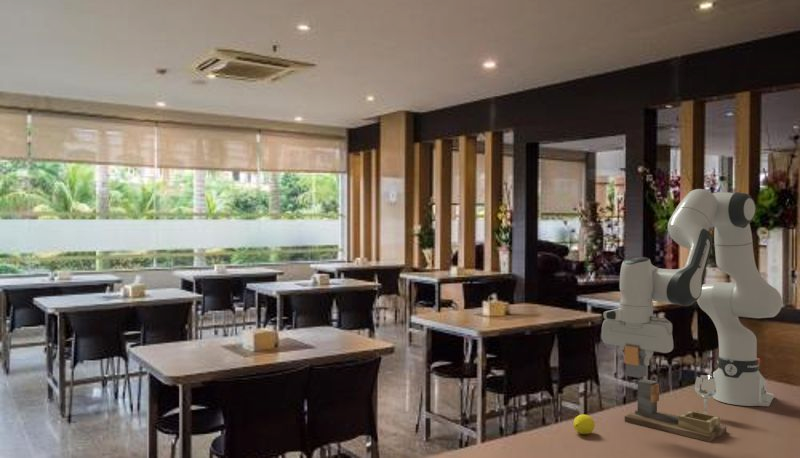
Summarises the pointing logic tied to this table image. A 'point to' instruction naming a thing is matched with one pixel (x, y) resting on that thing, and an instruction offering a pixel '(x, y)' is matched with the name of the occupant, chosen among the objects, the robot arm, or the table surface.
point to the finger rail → (672, 416)
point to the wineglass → (705, 387)
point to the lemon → (584, 424)
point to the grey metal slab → (635, 361)
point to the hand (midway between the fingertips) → (636, 363)
